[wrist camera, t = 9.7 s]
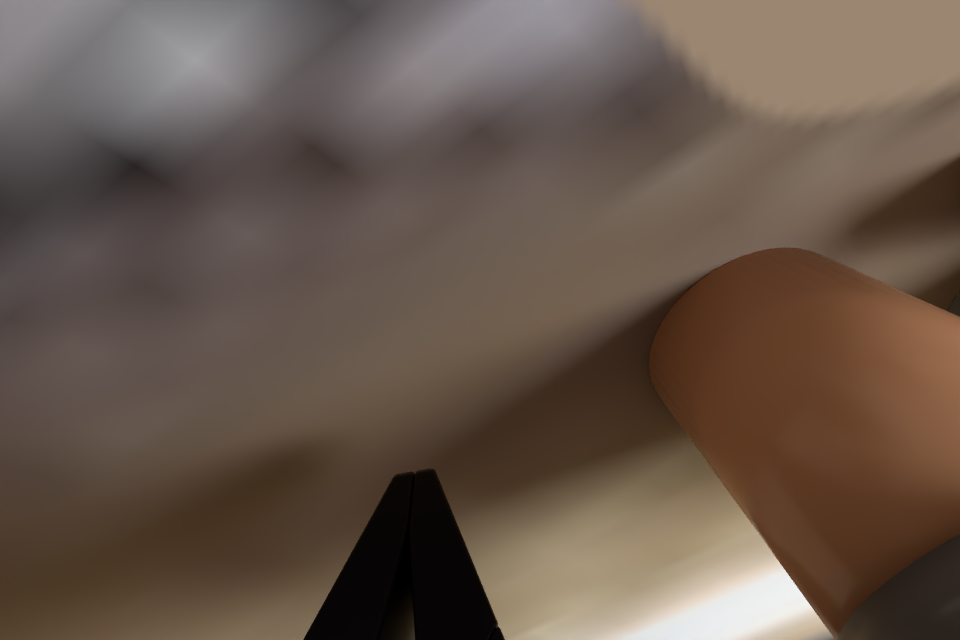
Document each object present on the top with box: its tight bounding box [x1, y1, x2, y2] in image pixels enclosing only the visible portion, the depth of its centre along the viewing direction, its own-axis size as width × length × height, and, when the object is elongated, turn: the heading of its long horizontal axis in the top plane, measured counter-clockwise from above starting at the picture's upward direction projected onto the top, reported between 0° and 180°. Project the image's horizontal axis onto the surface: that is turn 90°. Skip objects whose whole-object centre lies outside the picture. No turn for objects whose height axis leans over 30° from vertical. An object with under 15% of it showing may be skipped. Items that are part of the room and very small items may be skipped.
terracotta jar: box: [649, 248, 960, 640], centre depth 8 cm, size 6×6×7 cm
